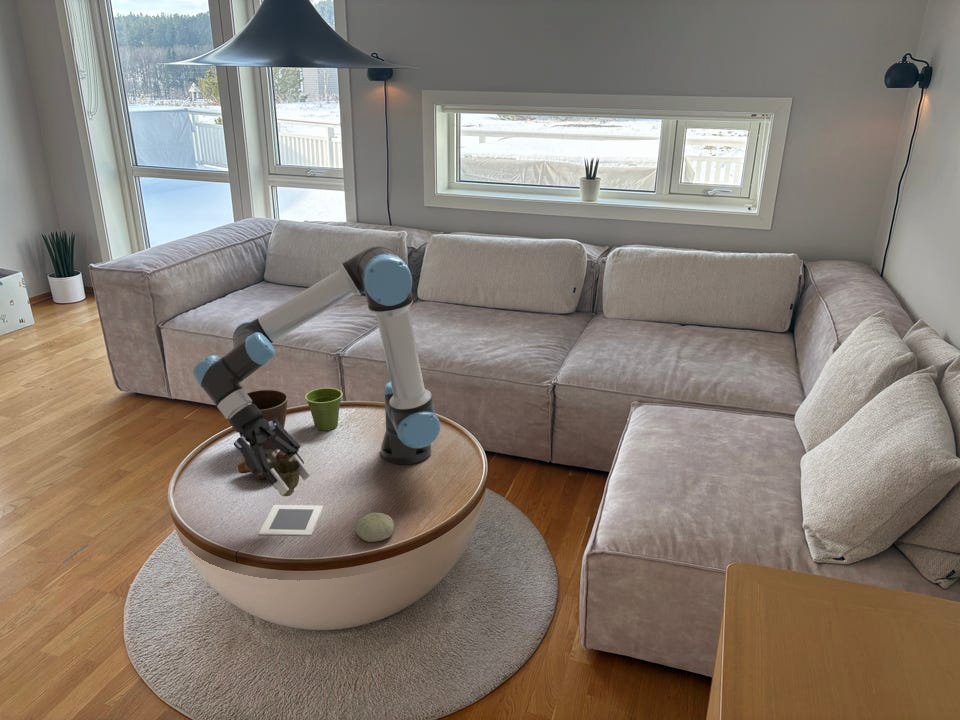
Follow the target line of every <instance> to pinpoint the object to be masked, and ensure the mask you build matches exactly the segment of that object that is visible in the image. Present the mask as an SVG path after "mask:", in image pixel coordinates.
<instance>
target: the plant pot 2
mask: <svg viewBox="0 0 960 720" xmlns="http://www.w3.org/2000/svg"><path fill="white" fill-rule="evenodd" d="M343 393H344V392H343V391H342V390H341V389H337V388H334V387H321V388H316V389H315V388H314V389H312V390H310V391H308V392H306V394H305V395H304V398H305V399H304V400H305V401H307V406H308V407H309V410H310V413H311V416H312V420H313V424H314V427H315V429H317V430H318V431H320V430H321V431H322V432H323V431H324V432H328V431H331V430H334V429H336V428H337V427H338V425H339V415H340V405H341V399H342V397H343Z"/></svg>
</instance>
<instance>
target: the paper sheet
mask: <svg viewBox="0 0 960 720" xmlns="http://www.w3.org/2000/svg"><path fill="white" fill-rule="evenodd" d="M323 508H324V505H313V504H312V505H311V504H310V505H305V504H304V505H302V504H301V505H300V504H298V505H297V504H291V505H290V504H273V506H272V508H271V509H270V511H269V513H268V515H267V517H266V519H265V520H264V522H263V524H262V527H261V528H260V530H259V532H258V535H259V536H261V535H264V536H312V535H313V533H314V530H315V528H316V526H317V523H318V521H319V518H320V515H321V513H322V510H323Z"/></svg>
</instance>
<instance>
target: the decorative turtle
mask: <svg viewBox="0 0 960 720" xmlns="http://www.w3.org/2000/svg"><path fill="white" fill-rule="evenodd" d="M264 453H265V456H266V459H267V462H268V465H269V467H270V465H271V464H272V463H274V464H275V462H276V461H278V462H279V461H280V460H281V459H284V460H286V459H288V461H289V459H290V457H289V456H287V455H286V454H284V453H283V452H282V451H280V450H278V451H276V450H270V449H265V450H264ZM237 470H238V472H239V474H248V473H249V474H250V473H251V474H252V475H253V476H254V474H253V473H252V471H251V469H250V468H249V466H248V464H247V462H246V461H245V460H244V461H242V462H240V463H238V464H237ZM254 477H255V479H256V481H258V482H261V481H264V480H265V479H266V478H265V476H264V475H263V476H260V475H258V476H254Z"/></svg>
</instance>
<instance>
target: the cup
mask: <svg viewBox="0 0 960 720" xmlns="http://www.w3.org/2000/svg"><path fill="white" fill-rule="evenodd" d="M269 468H270V469H269V470H271V469H272V468H274V470H275V471H276V472H277V474H278V475H279V476H280V478H281V479H282V480H283V481H284V483H285V484H286V485H287V487H288V488H289V490H288V491H287V492H286V493H285V494H283V495H281V494H280V493H279V495H280V496H282V497H290V496H292V495H293V494H294V492H295V488H296V487H297V486H298V485H299V481H300V475H299V473H300V464H299V462H298V461H295V460H294V459H293V460H292V462H291V461H290V462H289V461H288V459H286V460H284V459H281V460H280V461H279V462H278V461H276V462H275V464H274V463H272V464H271V465H270V467H269ZM272 486H273V487H274V488H275V489H276V487H275V486H274V485H272Z"/></svg>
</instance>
